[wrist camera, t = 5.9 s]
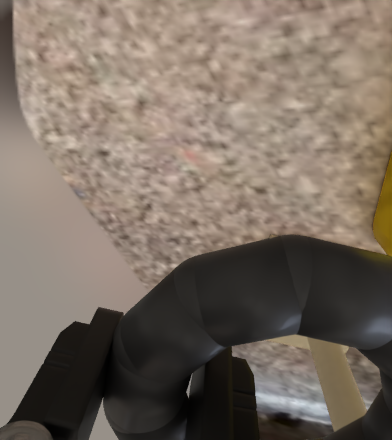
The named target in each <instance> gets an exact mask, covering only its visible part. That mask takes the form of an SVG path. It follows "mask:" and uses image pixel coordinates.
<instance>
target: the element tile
mask: <svg viewBox="0 0 392 440" xmlns="http://www.w3.org/2000/svg"><path fill="white" fill-rule="evenodd" d="M373 233H374V237H375V239H376V240H377V242H378V243H379V244H380V245H381V247H382V248H383V249H384V251H385V252H386V253H387V254H388V256H391V257H392V151H391V155H390V159H389V163H388V167H387V171H386V175H385V178H384V182H383V186H382V190H381V194H380V198H379V201H378V205H377V209H376V213H375V217H374V221H373Z"/></svg>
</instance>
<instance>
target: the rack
mask: <svg viewBox="0 0 392 440" xmlns="http://www.w3.org/2000/svg"><path fill="white" fill-rule="evenodd" d="M273 237H277V236H276V235H270V238H273ZM267 341H271V342H276V343H280V344H285V345H290V346H294V347H299V348H303V349H308V350H311V353H312V356H313V360H314V363H315V367H316V370H317V374H318V377H319V381H320V384H321V388H322V391H323V394H324V398H325V401H326V405H327V408H328V412H329V415H330V419H331V422H332V426H333V429H334V432H335V431H337V430H338V429H340V428H342V427H344V426H346V425H348V424H349V423H351V422H353V421H355V420H357V419H359V418H360V417H362V416H364V415H365V414H366V412H367V409H366V407H365V404H364V402H363V399H362V396H361V394H360V391H359V389H358V386H357V384H356V381H355V379H354V376H353V374H352V371H351V369H350V366H349V364H348V361H347V359H346V356H345V354H346V352H347V350H348V349H349V346H345V345H340V344H336V343H331V342H327V341H322V340H318V339H313V338H309V337H305V336H300V335H296V334H295V335H289V336H284V337H279V338H273V339H268V340H267Z"/></svg>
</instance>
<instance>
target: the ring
mask: <svg viewBox="0 0 392 440" xmlns="http://www.w3.org/2000/svg"><path fill="white" fill-rule="evenodd" d="M295 334H296V335H300V336H305V337H309V338H313V339H318V340H322V341H327V342H331V343H336V344H340V345H345V346H349V347H354V348H356V349H358V350H359V351H360V352H361V353H362V354H363V355H364V356H366V357H367V358H368V359H369V360H370V361H371V362H372V363H374V364H375V365H376V366H377V367H378V368H379V370H380V376H381V383H382V389H381V390H380V392H379V393H378V395H377V397H376V398H375V400H374V401H373V403H372V404H371V406H370V408H369V409H368V411H367V412H366V414H365V415H364V416H362V417H360V418H359V419H357V420H355V421H353V422H351V423H349V424H348V425H346V426H344V427H342V428H340V429H338V430H337V431H335V432H333V433H331V434H329V435H327V436H326V437H324V438H316V439H308V440H392V257H391V256H388V255H384V254H380V253H376V252H371V251H367V250H363V249H358V248H354V247H350V246H346V245H341V244H337V243H333V242H328V241H324V240H320V239H315V238H311V237H307V236H301V235H282V236H277V237H273V238H269V239H264V240H260V241H256V242H252V243H247V244H243V245H239V246H235V247H231V248H226V249H222V250H218V251H214V252H209V253H205V254H201V255H197V256H194V257H192V258H189V259H187V260H185V261H184V262H182V263H181V264H180V265H178V266H177V267H176V268H175V269H174V270H173V271H172V272H171V273H170V274H169V275H167V276H166V277H165V278H164V279H163V280H162V281H161V282H160V283H159V284H158V285H157V286H155V287H154V288H153V289H152V290H151V291H150V292H149V293H148V294H147V295H146V296H145V297H143V298H142V299H141V300H140V301H139V302H138V303H137V304H136V305H135V306H134V307H132V308H131V309H130V310H129V311H128V312H127V313H126V314H125V315H124V316H123V317H122V319H121V320H120V322H119V323H118V325H117V327H116V329H115V332H114V336H113V341H112V346H111V353H110V359H109V365H108V371H107V377H106V383H105V389H104V396H103V407H104V411H105V415H106V418H107V420H108V422H109V424H110V426H111V427H112V429H113V431H114V433H115V434H116V436H117V437H118V439H119V440H185V433H186V423H187V414H188V406H189V398H188V396H187V393H186V391H187V388H188V385H189V381H190V378H191V375H192V373H193V372H195V371H196V370H197V369H199V368H200V367H201V366H203V365H204V364H205V363H207V362H208V361H210V360H211V359H212V358H214V357H215V356H216V355H218V354H219V353H220V352H222V351H223V350H224V349H226V348H227V347H230V346H235V345H240V344H246V343H251V342H257V341H262V340H268V339H273V338H279V337H284V336H289V335H295Z"/></svg>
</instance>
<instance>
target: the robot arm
mask: <svg viewBox="0 0 392 440" xmlns="http://www.w3.org/2000/svg"><path fill="white" fill-rule="evenodd" d="M122 317H123V312H118V311H114V310H110V309H105V308H101V307H99V308H98V309H97V311H96V313H95V315H94V317H93V319H92V321H91V323H90V324H85V323H81V322H76V321H75V322H73V323H72V324H71V325H70V326H68V327H67V328H66V329H64V330H63V331H62V332H61V333H60V334H59V336H58V338H57V339H56V341H55V343H54V345H53V346H52V349H51V351H50V352H49V353H48V355H47V357H46V359H45V361H44V364H42V366H41V368H40V369H39V371H38V373H37V375H36V377H35V378H34V380H33V382H32V384H31V385H30V387H29V389H28V390H27V392H26V394H25V396H24V398H23V399H22V401H21V403H20V405H19V406H18V408H17V410H16V412H15V413H14V415H13V416H12V418H11V419H10V421H9V422H8V423H7V424H6V425H5V426H3V427H1V428H0V440H89V437H90V434H91V431H92V428H93V425H94V422H95V419H96V416H97V414H98V410H99V408H100V405H101V402H102V398H103V396H104V389H105V383H106V377H107V371H108V365H109V359H110V353H111V346H112V341H113V336H114V332H115V329H116V327H117V325H118V323H119V322H120V320H121V319H122ZM256 408H257V405H256V396H255V383H254V375H253V373H252V371H251V369H250V367H249V365H248V363H247V361H246V359H242V358H237V357H233V356H232V346H230V347H227V348H226V349H224V350H223V351H222V352H220V353H219V354H218V355H216V356H215V357H214V358H212V359H211V360H210V361H208V362H207V363H205V364H204V365H203V366H201V367H200V368H199V369H197V370H196V371H195V372H193V375H192V380H191V386H190V393H189V406H188V414H187V423H186V433H185V440H260V439H259V428H258V417H257V411H256Z"/></svg>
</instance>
